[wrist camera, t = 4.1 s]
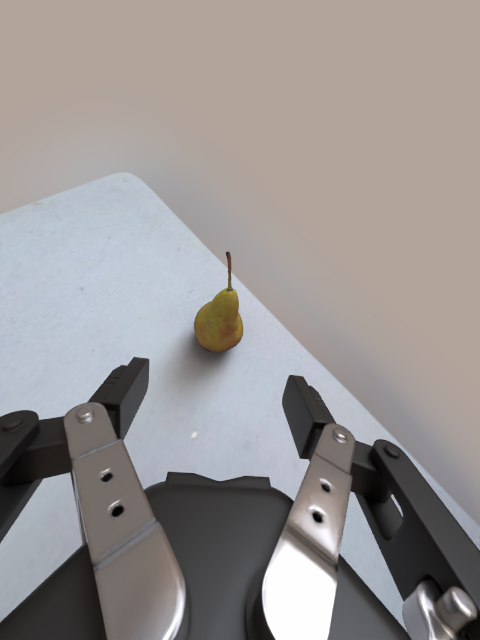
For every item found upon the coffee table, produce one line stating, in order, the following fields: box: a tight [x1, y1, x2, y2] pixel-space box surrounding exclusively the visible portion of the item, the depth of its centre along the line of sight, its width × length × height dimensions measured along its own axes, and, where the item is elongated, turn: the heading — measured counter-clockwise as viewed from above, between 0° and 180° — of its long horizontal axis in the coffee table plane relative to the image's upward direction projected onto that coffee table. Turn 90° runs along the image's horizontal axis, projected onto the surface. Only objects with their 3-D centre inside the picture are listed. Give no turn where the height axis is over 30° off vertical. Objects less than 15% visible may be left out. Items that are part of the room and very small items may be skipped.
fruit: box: [194, 252, 243, 352], centre depth 22 cm, size 6×6×12 cm
